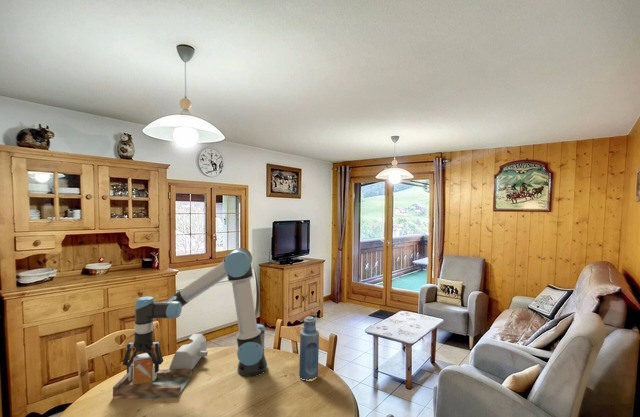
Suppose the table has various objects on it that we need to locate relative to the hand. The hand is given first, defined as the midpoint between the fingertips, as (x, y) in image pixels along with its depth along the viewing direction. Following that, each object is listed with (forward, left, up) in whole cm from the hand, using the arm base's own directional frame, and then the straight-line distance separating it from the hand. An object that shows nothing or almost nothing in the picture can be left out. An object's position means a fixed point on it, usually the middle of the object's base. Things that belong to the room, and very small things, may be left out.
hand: (142, 379), depth 149 cm
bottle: (-77, -6, -4) cm, 78 cm away
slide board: (-5, 0, -4) cm, 7 cm away
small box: (0, 0, -2) cm, 2 cm away
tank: (-15, -21, -4) cm, 27 cm away
